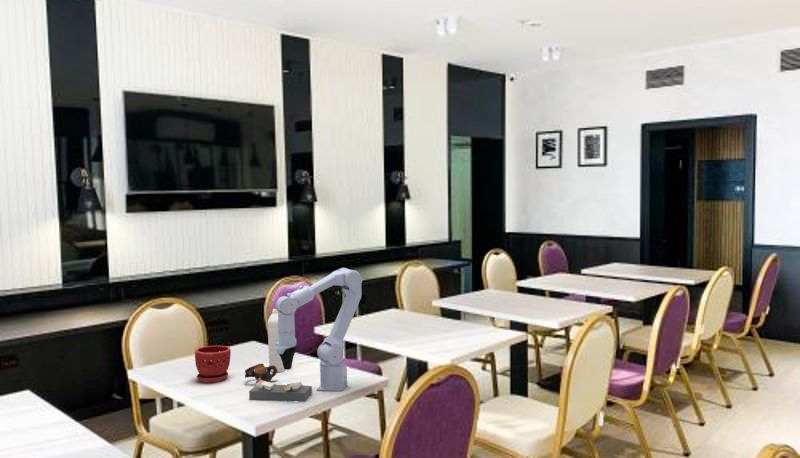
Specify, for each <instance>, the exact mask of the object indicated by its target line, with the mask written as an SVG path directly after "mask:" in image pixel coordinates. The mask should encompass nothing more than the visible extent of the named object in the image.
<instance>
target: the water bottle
mask: <svg viewBox="0 0 800 458" xmlns="http://www.w3.org/2000/svg"><path fill="white" fill-rule="evenodd" d="M267 333H268V335H267V337H268V340H267V341H268V347H267V348H268V364H269V365H268V367H269V366H272V365H273V366H275V367H276V368H277V373H281V372H285V371H286V370H285V369H284V367H283V363H282V360H281V357H280V355H279V354H277V348H278V346H276V343H277V342H279V336H278V311H277V309H276V308H273V309H272V312H271V315H270V316H269V317H268V320H267ZM270 373H273V369H271V371H270Z"/></svg>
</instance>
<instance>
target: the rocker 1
mask: <svg viewBox="0 0 800 458" xmlns="http://www.w3.org/2000/svg"><path fill="white" fill-rule="evenodd" d="M274 384H275V383H273V382H271V381H270V382H266V381H262V380H261V381H259V382H258V383H257V384H256V385H257V387H260V388H262V389H267V390H271V389H272V388H273V387H274Z"/></svg>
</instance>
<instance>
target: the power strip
mask: <svg viewBox="0 0 800 458" xmlns="http://www.w3.org/2000/svg"><path fill="white" fill-rule="evenodd" d="M286 385H287V384H275V383H274V387H273V388H272V389H271V390H267V389H262V388H260V387H257V384H256V385H255V386H254V387H252V388H251V389H250V390H249V391H248V396H249V397H248V398H249V400H250V401H272V402H273V401H274V402H275V401H276V402H294V401H298V402H300V403H305V402H307V400H308V399H310V397H311V396H312V395H313V386H312V385H301V386H300V387H299V388H297V389H293V390H286V391H285V389H284V387H285V386H286ZM311 394H312V395H311Z"/></svg>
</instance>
